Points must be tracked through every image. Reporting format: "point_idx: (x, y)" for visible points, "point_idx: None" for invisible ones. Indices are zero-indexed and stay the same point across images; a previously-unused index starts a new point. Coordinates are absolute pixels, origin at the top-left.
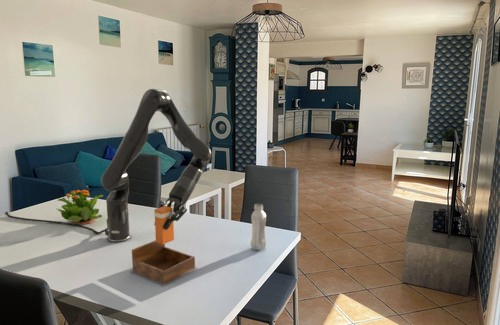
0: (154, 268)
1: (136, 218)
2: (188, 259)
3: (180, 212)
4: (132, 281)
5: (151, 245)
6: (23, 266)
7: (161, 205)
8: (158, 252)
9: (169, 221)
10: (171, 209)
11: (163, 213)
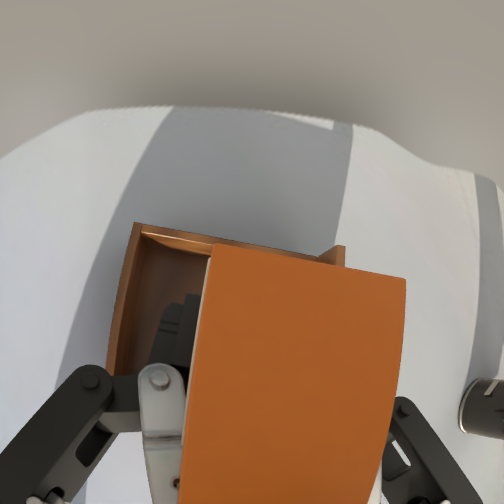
0: (187, 232)
1: (486, 489)
2: (108, 364)
3: (21, 446)
4: (257, 216)
5: None
6: (485, 192)
7: (433, 494)
8: None
9: (151, 349)
10: (179, 486)
11: (203, 297)
